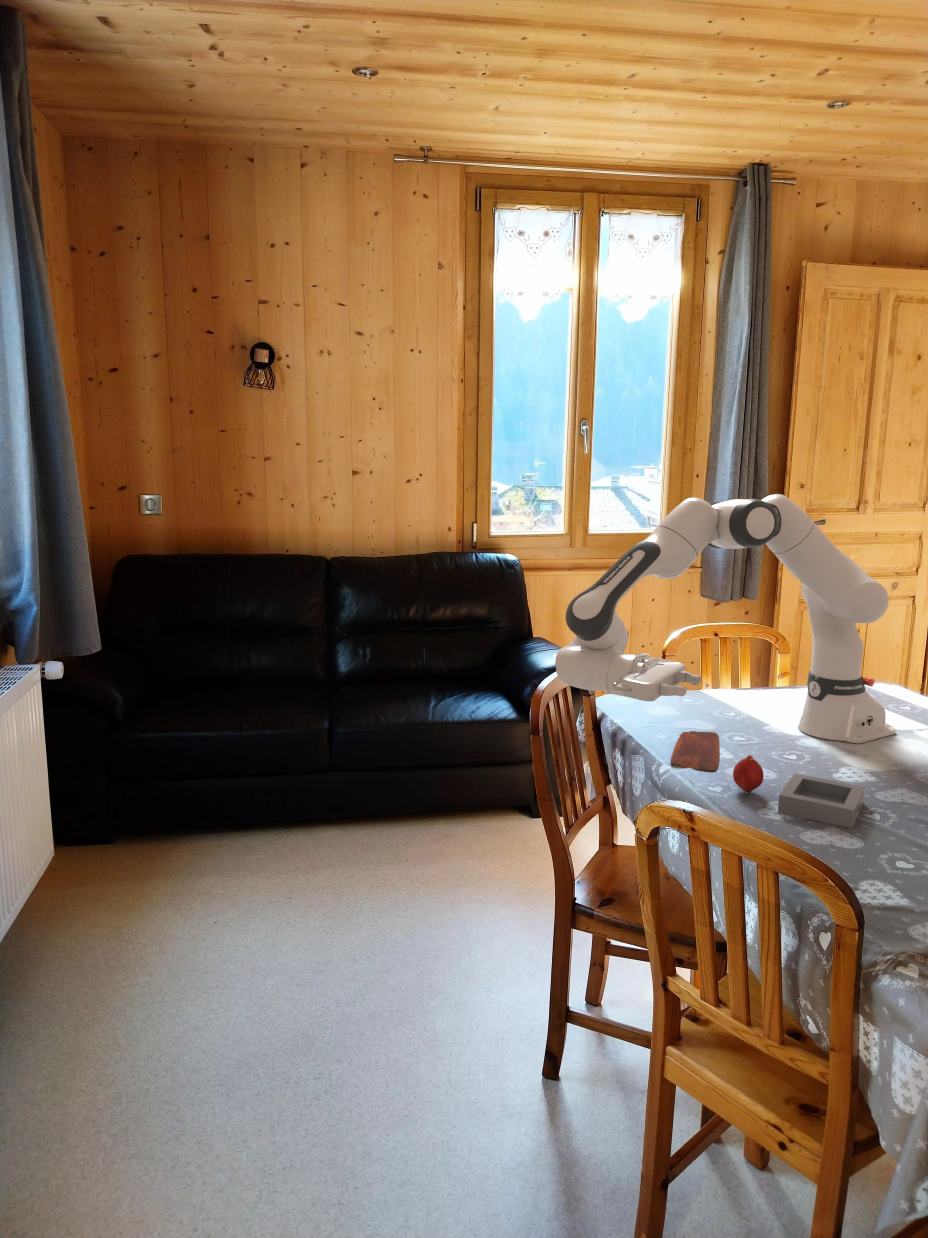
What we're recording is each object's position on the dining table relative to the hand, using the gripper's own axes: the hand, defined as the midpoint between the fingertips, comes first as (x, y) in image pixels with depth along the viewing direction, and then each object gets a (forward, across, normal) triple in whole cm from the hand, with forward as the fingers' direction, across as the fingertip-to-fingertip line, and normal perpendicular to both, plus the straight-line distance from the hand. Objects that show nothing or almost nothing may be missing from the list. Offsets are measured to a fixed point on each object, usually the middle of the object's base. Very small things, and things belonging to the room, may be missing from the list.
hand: (692, 686), depth 178 cm
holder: (+26, 0, +20) cm, 33 cm away
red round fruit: (+12, 0, +20) cm, 24 cm away
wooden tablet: (-4, +19, +21) cm, 29 cm away
